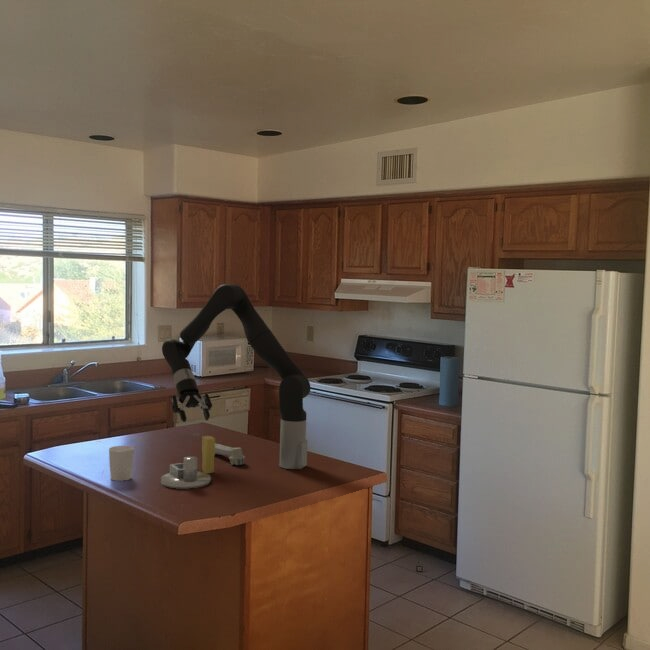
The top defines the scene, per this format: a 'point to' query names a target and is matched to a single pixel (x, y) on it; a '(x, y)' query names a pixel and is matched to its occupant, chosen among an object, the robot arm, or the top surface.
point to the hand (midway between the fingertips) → (196, 420)
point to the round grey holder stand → (185, 475)
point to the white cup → (121, 462)
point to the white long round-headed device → (230, 453)
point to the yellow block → (208, 454)
